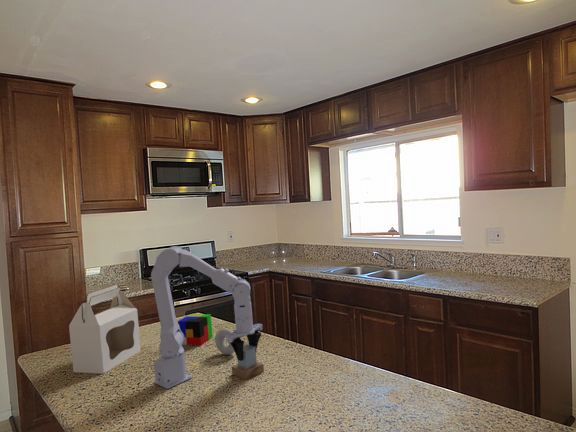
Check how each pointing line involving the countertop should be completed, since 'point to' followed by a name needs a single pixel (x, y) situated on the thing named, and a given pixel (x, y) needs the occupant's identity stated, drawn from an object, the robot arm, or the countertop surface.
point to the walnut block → (247, 371)
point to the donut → (221, 344)
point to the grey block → (248, 357)
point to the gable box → (104, 332)
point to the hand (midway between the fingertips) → (246, 356)
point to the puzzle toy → (196, 329)
